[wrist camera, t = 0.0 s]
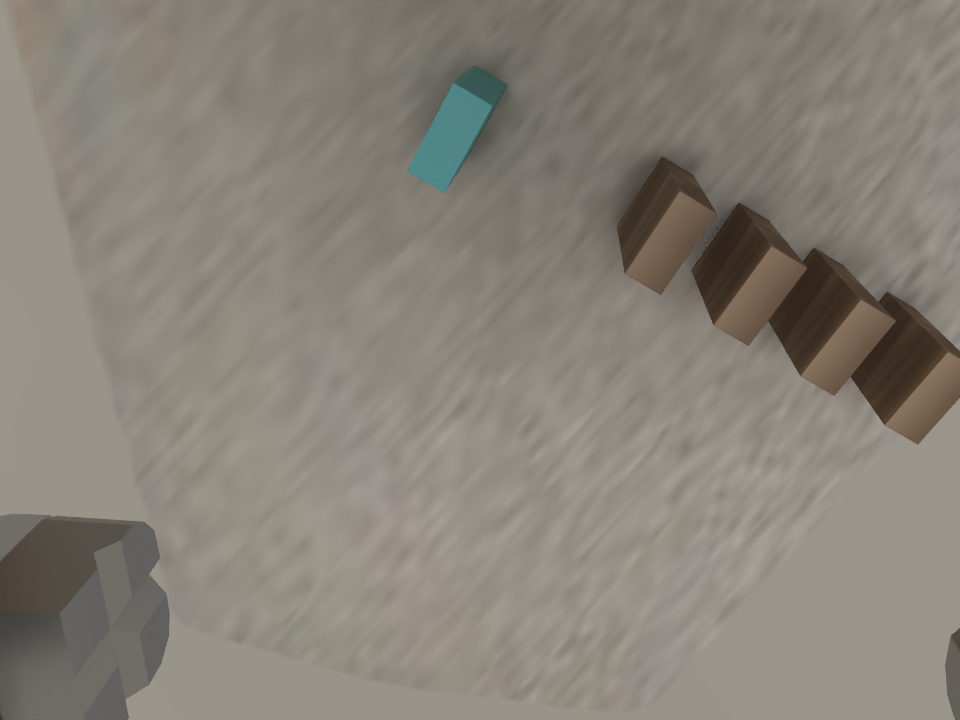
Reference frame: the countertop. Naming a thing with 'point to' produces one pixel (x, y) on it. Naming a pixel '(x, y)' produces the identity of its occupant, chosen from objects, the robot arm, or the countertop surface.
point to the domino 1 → (456, 128)
